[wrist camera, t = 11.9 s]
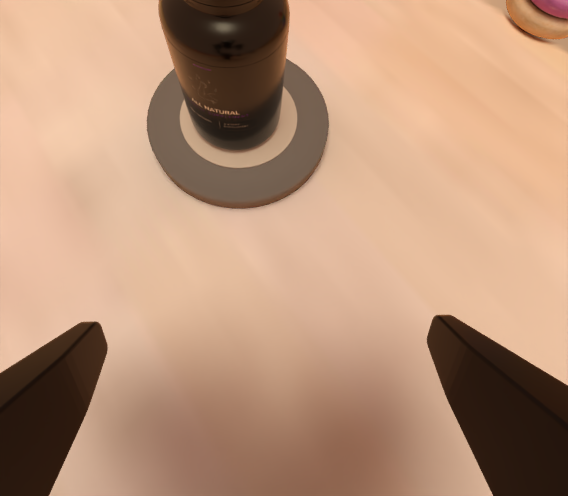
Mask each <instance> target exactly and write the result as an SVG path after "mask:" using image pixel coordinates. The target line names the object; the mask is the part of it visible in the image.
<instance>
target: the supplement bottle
mask: <svg viewBox="0 0 568 496" xmlns="http://www.w3.org/2000/svg"><path fill="white" fill-rule="evenodd" d="M158 8H159V17H160V21H161V26H162V29H163V32H164V35H165V39H166V42H167V45H168V48H169V51H170V55H171V58H172V61H173V64H174V68H175V71H176V74H177V77H178V80H179V84H180V87H181V90H182V93H183V96H184V100H185V103H186V106H187V109H188V112H189V115H190V118H191V121H192V123H193V126H194V127H195V129H196V131H197V132H198V133H199V134H200V135H201V137H202V138H204V139H205V140H206V141H207V142H209V143H211V144H212V145H214V146H217V147H219V148H222V149H227V150H246V149H250V148H253V147H256V146H258V145H260V144H261V143H263V142H264V141H266V140H267V139H268V138H269V137H270V136H271V135H272V134H273V132H274V131H275V129H276V127H277V125H278V122H279V119H280V113H281V104H282V94H283V84H284V73H285V63H286V53H287V42H288V32H289V17H290V12H289V4H288V0H159V4H158Z"/></svg>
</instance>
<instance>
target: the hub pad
mask: <svg viewBox="0 0 568 496" xmlns="http://www.w3.org/2000/svg"><path fill="white" fill-rule="evenodd" d="M328 127H329V120H328V112H327V107H326V104H325V101H324V98H323V96H322V94H321V92H320V90H319V88H318V87H317V85H316V84H315V83H314V81H313V80H312V79H311V78H310V77H309V76H308V75H307V73H306V72H305V71H303V70H302V69H301V68H300V67H298V66H297V65H296V64H294V63H292V62H291V61H289V60H288V59H286V63H285V73H284V84H283V94H282V104H281V113H280V119H279V122H278V125H277V127H276V129H275V131H274V132H273V134H272V135H271V136H270V137H269V138H268V139H267V140H266V141H264V142H263V143H261V144H260V145H258V146H256V147H253V148H250V149H246V150H227V149H222V148H219V147H217V146H214V145H212V144H211V143H209V142H207V141H206V140H205V139H204V138H202V137H201V135H200V134H199V133H198V132H197V131H196V129H195V127H194V126H193V123H192V121H191V118H190V115H189V112H188V109H187V106H186V103H185V100H184V96H183V93H182V90H181V87H180V84H179V80H178V77H177V74H176V71H175V68H174V69H173V70H172V71H171V72H170V73H169V74H168V75H167V76H166V77H165V78H164V79H163V81H162V82H161V83H160V85H159V86H158V88H157V89H156V91H155V93H154V95H153V97H152V99H151V102H150V106H149V109H148V116H147V132H148V137H149V141H150V144H151V147H152V150H153V152H154V154H155V156H156V157H157V159H158V161H159V163H160V164H161V166H162V168H163V169H164V171H165V172H166V174H167V175H168V176H169V177H170V179H171V180H172V181H173V182H174V183H175V184H176V185H177V186H178V187H180V188H181V189H182V190H184V191H185V192H186V193H188V194H189V195H191V196H193V197H195V198H197V199H199V200H201V201H204V202H206V203H209V204H213V205H216V206H220V207H228V208H251V207H258V206H262V205H267V204H270V203H273V202H275V201H278V200H280V199H282V198H284V197H286V196H288V195H290V194H291V193H293V192H294V191H295V190H297V189H298V188H299V187H300V186H302V185H303V184H304V183H305V182H306V181H307V180H308V178H309V177H310V176H311V175H312V174H313V172H314V171H315V169H316V167H317V166H318V164H319V161H320V159H321V157H322V154H323V150H324V147H325V144H326V140H327V136H328Z"/></svg>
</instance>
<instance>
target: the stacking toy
mask: <svg viewBox="0 0 568 496" xmlns="http://www.w3.org/2000/svg"><path fill="white" fill-rule="evenodd" d="M506 5H507V10H508V13H509V15H510V16H511V18H512V19H513V21H514V22H515V23H516V24H517V25H518V26H519V27H520V28H522V29H523V30H525V31H526V32H528V33H530V34H533V35H535V36H538V37H542V38H547V39H562V38H566V37H568V0H506Z"/></svg>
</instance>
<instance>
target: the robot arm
mask: <svg viewBox="0 0 568 496" xmlns="http://www.w3.org/2000/svg"><path fill="white" fill-rule="evenodd" d="M427 344H428V348H429V351H430V353H431V356H432V359H433V362H434V364H435V367H436V370H437V373H438V376H439V378H440V381H441V384H442V387H443V390H444V392H445V395H446V397H447V399H448V402H449V404H450V406H451V408H452V410H453V412H454V415H455V417H456V419H457V421H458V423H459V425H460V427H461V429H462V431H463V433H464V435H465V438H466V440H467V442H468V444H469V446H470V448H471V450H472V452H473V454H474V456H475V459H476V461H477V463H478V465H479V467H480V469H481V471H482V473H483V475H484V477H485V479H486V482H487V484H488V486H489V488H490V490H491V492H492V494H493V496H568V385H566V384H564V383H563V382H561V381H559V380H558V379H556V378H554V377H553V376H551V375H549V374H548V373H546V372H544V371H543V370H541V369H539V368H538V367H536V366H534V365H533V364H531V363H530V362H528V361H526V360H525V359H523V358H521V357H520V356H518V355H516V354H515V353H513V352H511V351H510V350H508V349H506V348H505V347H503V346H501V345H500V344H498V343H496V342H495V341H493V340H491V339H490V338H488V337H486V336H485V335H483V334H482V333H480V332H478V331H477V330H475V329H473V328H472V327H470V326H468V325H467V324H465V323H463V322H462V321H460V320H458V319H457V318H455V317H453V316H452V315H436V316H435V317H434V318H433V320H432V323H431V326H430V329H429V333H428V336H427ZM107 349H108V347H107V342H106V339H105V336H104V333H103V330H102V327H101V325H100V323H98V322H81V323H79V324H77V325H76V326H74V327H72V328H71V329H69V330H68V331H66V332H65V333H63V334H61V335H60V336H58V337H57V338H55V339H54V340H52V341H50V342H49V343H47V344H46V345H44V346H42V347H41V348H39V349H38V350H36V351H35V352H33V353H31V354H30V355H28V356H27V357H25V358H23V359H22V360H20V361H19V362H17V363H16V364H14V365H12V366H11V367H9V368H8V369H6V370H4V371H3V372H1V373H0V496H49V494H50V492H51V490H52V488H53V485H54V483H55V481H56V479H57V477H58V474H59V472H60V470H61V468H62V466H63V463H64V461H65V459H66V457H67V455H68V452H69V450H70V448H71V446H72V444H73V441H74V439H75V437H76V435H77V433H78V430H79V428H80V426H81V424H82V422H83V419H84V417H85V415H86V412H87V410H88V407H89V405H90V402H91V399H92V396H93V393H94V390H95V387H96V384H97V381H98V378H99V375H100V372H101V369H102V366H103V363H104V360H105V357H106V354H107Z"/></svg>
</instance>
